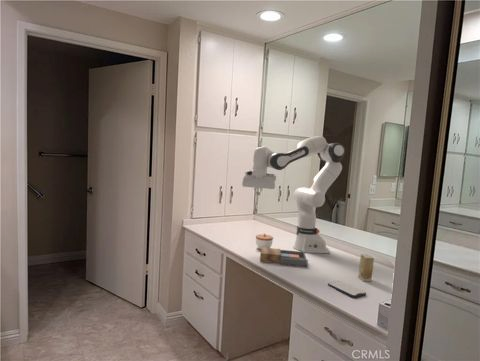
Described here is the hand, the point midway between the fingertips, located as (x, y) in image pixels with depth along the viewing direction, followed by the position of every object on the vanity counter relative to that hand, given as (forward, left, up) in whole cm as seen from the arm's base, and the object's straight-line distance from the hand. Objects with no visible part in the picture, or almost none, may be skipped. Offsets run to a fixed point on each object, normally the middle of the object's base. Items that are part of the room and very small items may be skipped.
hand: (257, 195), depth 212 cm
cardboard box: (-11, +20, -33) cm, 40 cm away
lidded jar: (-6, +1, -33) cm, 34 cm away
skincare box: (-58, +39, -33) cm, 77 cm away
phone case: (-46, +56, -34) cm, 80 cm away
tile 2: (-19, +20, -32) cm, 43 cm away
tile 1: (-24, +21, -30) cm, 43 cm away
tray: (-23, +20, -33) cm, 45 cm away
